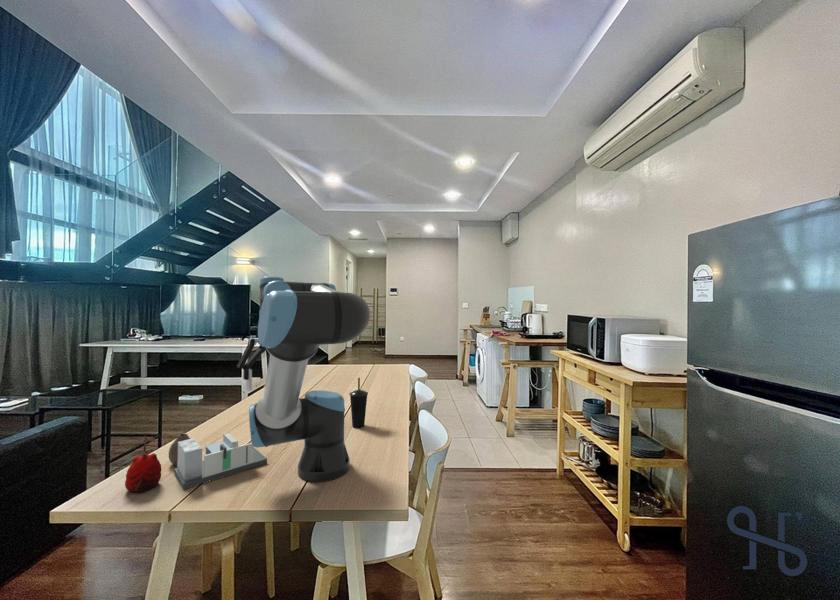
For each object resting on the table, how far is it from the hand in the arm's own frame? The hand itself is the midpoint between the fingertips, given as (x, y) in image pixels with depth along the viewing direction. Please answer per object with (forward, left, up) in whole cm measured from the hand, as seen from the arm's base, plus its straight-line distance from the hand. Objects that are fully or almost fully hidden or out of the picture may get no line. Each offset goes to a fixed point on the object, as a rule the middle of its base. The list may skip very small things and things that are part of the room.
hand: (270, 386), depth 113 cm
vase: (+13, +22, -23) cm, 34 cm away
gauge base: (0, +14, -23) cm, 27 cm away
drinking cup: (+2, -37, -23) cm, 44 cm away
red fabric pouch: (+2, +33, -23) cm, 40 cm away
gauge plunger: (-1, +14, -21) cm, 25 cm away
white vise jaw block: (0, +23, -21) cm, 31 cm away
